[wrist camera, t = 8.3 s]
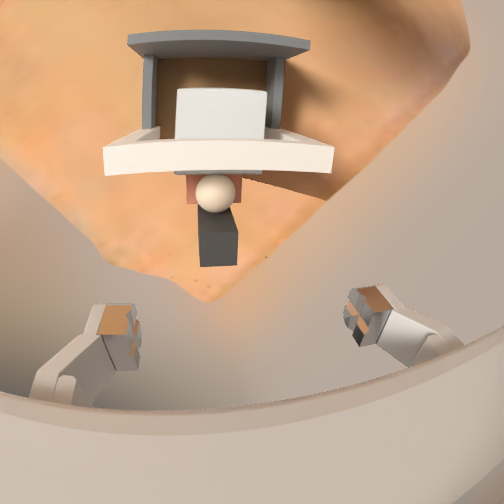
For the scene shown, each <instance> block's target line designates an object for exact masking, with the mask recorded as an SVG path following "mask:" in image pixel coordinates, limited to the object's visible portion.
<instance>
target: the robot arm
mask: <svg viewBox="0 0 504 504" xmlns="http://www.w3.org/2000/svg"><path fill="white" fill-rule="evenodd" d="M348 298H349V300H350V301H349V302H348V303H347V304H346V305H345V308H344V312H343V314H344V321H345V324H346V325H347V327H348V328H349V329H351V330H352V331H353V337H354V339H355V340H356V342H357V344H358V346H359V347H361V346H366V345H371V344H376V343H377V345H378V346H379V347H381V348H382V349H383V350H385V351H386V352H388V353H389V354H390V355H392V356H393V357H394V358H396V359H397V360H399V361H400V362H402V363H403V364H404V365H405V366H407V367H408V368H407V369H404V370H401V371H398V372H395V373H392V374H389V375H386V376H383V377H379V378H376V379H373V380H370V381H366V382H362V383H359V384H355V385H351V386H348V387H343V388H339V389H336V390H332V391H327V392H322V393H318V394H313V395H308V396H303V397H298V398H293V399H287V400H281V401H274V402H268V403H261V404H254V405H245V406H236V407H226V408H214V409H200V410H199V409H198V410H170V411H145V410H144V411H143V410H118V409H104V408H94V406H93V405H92V403H93V401H94V400H95V399H96V397H97V396H98V395H99V394H100V392H101V391H102V390H103V388H104V387H105V386H106V384H107V383H108V382H109V380H110V379H111V378H112V377H113V375H114V374H115V373H116V371H126V370H127V371H128V370H138V368H139V359H140V355H139V352H138V349H139V348H140V347H141V327H140V323H139V321H138V320H137V319H136V314H137V311H136V307H135V305H134V304H129V303H127V304H126V303H125V304H124V303H108V304H106V303H96V304H94V305H93V307H92V310H91V312H90V315H89V318H88V321H87V324H86V327H85V330H84V333H83V335H79V336H78V337H76V338H75V339H74V340H73V341H71V342H70V343H69V344H68V345H67V346H65V347H64V348H63V349H62V350H61V351H59V353H57V354H56V355H55V356H54V357H52V358H51V359H50V360H49V361H48V362H47V363H46V364H45V365H43V366H42V367H41V368H40V369H39V370H38V371H37V373H36V376H35V379H34V382H33V385H32V388H31V392H30V395H29V398H26V397H21V396H17V395H12V394H8V393H4V392H0V504H504V326H502V327H500V328H498V329H497V330H495V331H493V332H491V333H489V334H487V335H485V336H483V337H481V338H479V339H477V340H475V341H473V342H471V343H469V344H466V345H463V343H462V342H461V341H460V339H459V338H458V337H457V336H456V335H455V333H454V332H453V331H452V330H451V329H450V328H449V327H447V326H445V325H443V324H441V323H439V322H437V321H435V320H433V319H431V318H429V317H427V316H424V315H423V314H421V313H419V312H416V311H414V310H412V309H410V308H408V307H404V306H403V305H402V304H401V303H400V302H399V300H397V298H396V297H395V296H394V295H393V294H392V292H391V291H390V290H389V289H388V288H387V287H386V286H385V285H383V284H381V285H374V286H369V287H362V288H353V289H352V290H351V291H350V292H349V295H348Z"/></svg>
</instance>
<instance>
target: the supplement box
mask: <svg viewBox="0 0 504 504" xmlns="http://www.w3.org/2000/svg"><path fill="white" fill-rule="evenodd" d="M266 105H267V92H266V91H260V90H250V89H237V88H181V89H178V90H177V103H176V121H175V139H184V138H250V139H264V134H265V118H266ZM174 174H176V175H192V174H255V175H261V174H262V170H186V171H174Z"/></svg>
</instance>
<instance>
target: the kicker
mask: <svg viewBox="0 0 504 504" xmlns="http://www.w3.org/2000/svg"><path fill="white" fill-rule="evenodd" d="M186 184H187V204H198V238H199V256H200V267H211V266H233V265H237V250H238V230H237V227H236V224H235V221H234V218H233V215H232V212H231V209H230V206H231V204H232V203H241V189H242V174H192V175H186Z"/></svg>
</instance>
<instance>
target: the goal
mask: <svg viewBox="0 0 504 504" xmlns="http://www.w3.org/2000/svg"><path fill="white" fill-rule="evenodd" d="M127 45H128V46H129V47H131V48H132V49H133V50H134V51H135V52H137V53H138V54H139V55H140V56H141V57H142V58H144V67H143V91H142V128H141V129H138V130H136V131H134V132H132V133H130V134H128V135H126V136H124V137H122V138H120V139H118V140H116V141H114V142H112V143H110V144H108V145H106V146H104V147H103V158H104V171H105V176H108V175H119V174H132V173H146V172H163V171H186V170H279V171H302V172H320V173H331V170H332V162H333V155H334V147H333V146H330V145H328V144H325V143H322V142H320V141H317V140H314V139H311V138H308V137H306V136H303V135H300V134H297V133H294V132H291V131H288V130H285V129H282V128H280V123H281V110H282V97H283V83H284V68H285V60H286V59H289V58H291V57H294V56H296V55H298V54H301V53H303V52H306V51H309V50H310V40H305V39H299V38H294V37H287V36H281V35H273V34H265V33H256V32H244V31H229V30H174V31H158V32H147V33H138V34H130V35H128V42H127ZM172 58H234V59H250V60H261V61H267V76H266V92H267V105H266V118H265V134H264V139H250V138H184V139H161V140H160V126H156V97H157V71H158V59H172Z"/></svg>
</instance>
